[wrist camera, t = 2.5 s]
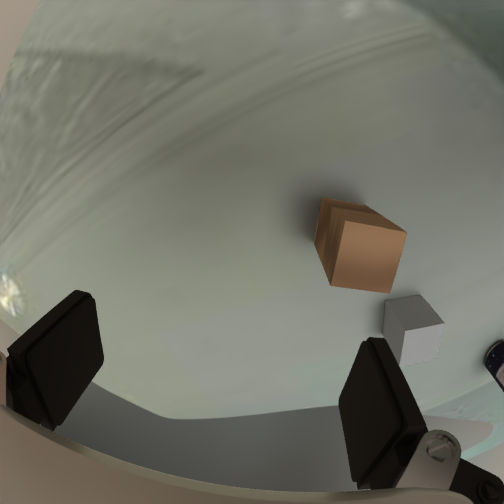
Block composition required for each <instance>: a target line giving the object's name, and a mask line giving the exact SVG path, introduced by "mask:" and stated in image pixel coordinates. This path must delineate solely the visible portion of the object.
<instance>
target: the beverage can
mask: <svg viewBox="0 0 504 504" xmlns="http://www.w3.org/2000/svg"><path fill="white" fill-rule="evenodd" d="M485 367H486V368H487V369H488V371H489V372H490V373H491V375H492V376H493V378H494V379H495V380H496V382H497V383H498V384H499V386H500V387H501V389H502V390H503V392H504V342H499V343H497V344H495V345H494V346H493V347H492V348H491V349H490V350H489V352H488V354H487V356H486V361H485Z"/></svg>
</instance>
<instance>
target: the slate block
mask: <svg viewBox="0 0 504 504" xmlns="http://www.w3.org/2000/svg"><path fill="white" fill-rule="evenodd" d="M444 324H445V323H444V322H443V320H442V319H441V318H440V317H439V316H438V314H437V313H436V312H435V311H434V310H433V308H432V307H431V306H430V305H429V304H428V303H427V301H426V300H425V299H424V298H423V297H422V296H421V295H416V296H410V297H404V298H397V299H391V300H385V313H384V325H383V336H384V338H385V339H386V341H387V343H388V344H389V346H390V348H391V350H392V352H393V354H394V356H395V358H396V360H397V363H398V365H399V367H403V366H407V365H412V364H417V363H421V362H425V361H429V360H433V359H437V355H438V351H439V347H440V343H441V338H442V334H443V329H444Z"/></svg>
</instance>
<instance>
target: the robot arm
mask: <svg viewBox="0 0 504 504" xmlns="http://www.w3.org/2000/svg"><path fill="white" fill-rule="evenodd" d="M7 350H8V353H9V356H8V357H7V358H6V357H5V355H4V354H3V353H2V352H0V504H504V484H503V482H502V481H501V479H500V478H499V477H497V476H496V475H493V474H492V473H490V472H488V471H485V470H483V469H481V468H479V467H477V466H475V465H473V464H471V463H469V462H468V461H466V460H464V459H462V458H460V457H461V447H460V444H459V442H458V440H457V439H456V438H455V437H454V436H453V435H452V434H450V433H449V432H446V431H443V430H432V431H429V432H428V429H427V427H426V423H425V421H424V419H423V416H422V414H421V412H420V410H419V407H418V405H417V403H416V401H415V398H414V396H413V394H412V392H411V390H410V388H409V385H408V383H407V381H406V379H405V377H404V375H403V373H402V371H401V369H400V367H399V365H398V363H397V360H396V358H395V356H394V354H393V352H392V350H391V348H390V346H389V344H388V343H387V341H386V339H385V338H374V337H369V338H368V339H367V340H366V341H363V342H362V343H361V345H360V348H359V351H358V353H357V356H356V358H355V361H354V363H353V366H352V368H351V371H350V373H349V376H348V378H347V381H346V383H345V385H344V388H343V390H342V392H341V395H340V397H339V409H340V415H341V420H342V425H343V431H344V437H345V442H346V448H347V453H348V459H349V465H350V472H351V478H352V480H353V482H357V487H358V490H360V489H371V490H364V491H347V492H284V491H267V490H256V489H246V488H238V487H231V486H224V485H218V484H212V483H206V482H201V481H196V480H191V479H186V478H182V477H178V476H173V475H169V474H165V473H162V472H158V471H154V470H150V469H147V468H144V467H140V466H137V465H134V464H131V463H128V462H125V461H122V460H119V459H116V458H113V457H111V456H108V455H105V454H103V453H100V452H97V451H95V450H92V449H90V448H87V447H85V446H83V445H80V444H78V443H76V442H73V441H71V440H69V439H67V438H65V437H63V436H60V435H58V434H56V433H54V432H52V431H54V429H55V428H56V426H57V425H58V426H60V425H61V424H62V423H63V422H64V420H65V418H66V417H67V415H68V414H69V413H70V411H71V410H72V408H73V407H74V405H75V403H76V402H77V401H78V399H79V398H80V396H81V395H82V393H83V392H84V390H85V389H86V388H87V386H88V385H89V383H90V382H91V381H92V379H93V378H94V376H95V375H96V373H97V372H98V371H99V369H100V368H101V366H102V365H103V362H104V354H103V349H102V343H101V337H100V331H99V325H98V318H97V310H96V303H95V299H94V298H92V296H91V294H90V293H88V292H84V291H80V290H75V291H73V292H72V293H71V294H70V295H68V296H67V297H66V298H65V299H63V300H62V301H61V302H60V303H59V304H57V305H56V306H55V307H54V308H53V309H51V310H50V311H49V312H48V313H47V314H46V315H44V316H43V317H42V318H41V319H40V320H39V321H37V322H36V323H35V324H34V325H33V326H32V327H31V328H29V329H28V330H27V331H26V332H25V333H24V334H23V335H22V336H21V337H19V338H18V339H17V340H16V341H15V342H14V343H13V344H12V345H11V346H10V347H9V348H8V349H7ZM39 424H41V426H40V425H39ZM42 426H43V427H42ZM44 427H45V428H44ZM46 428H47V429H46ZM48 429H49V430H48ZM50 430H51V431H50Z"/></svg>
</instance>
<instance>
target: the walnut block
mask: <svg viewBox="0 0 504 504" xmlns="http://www.w3.org/2000/svg"><path fill="white" fill-rule="evenodd" d="M406 235H407V232H406V231H404V230H403V229H401V228H400V227H398V226H397V225H395V224H394V223H392V222H391V221H389V220H388V219H386V218H385V217H383V216H382V215H380V214H379V213H377V212H376V211H374V210H373V209H371V208H369V207H368V206H366V205H361V204H356V203H351V202H346V201H340V200H335V199H329V198H324V197H322V200H321V206H320V211H319V217H318V222H317V227H316V233H315V238H314V245H315V247H316V250H317V252H318V255H319V257H320V260H321V262H322V265H323V268H324V270H325V273H326V275H327V278H328V281H329V283H330V286H336V287H343V288H351V289H359V290H366V291H374V292H382V293H390V291H391V288H392V285H393V281H394V278H395V275H396V271H397V268H398V265H399V261H400V257H401V254H402V250H403V246H404V243H405V239H406Z"/></svg>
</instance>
